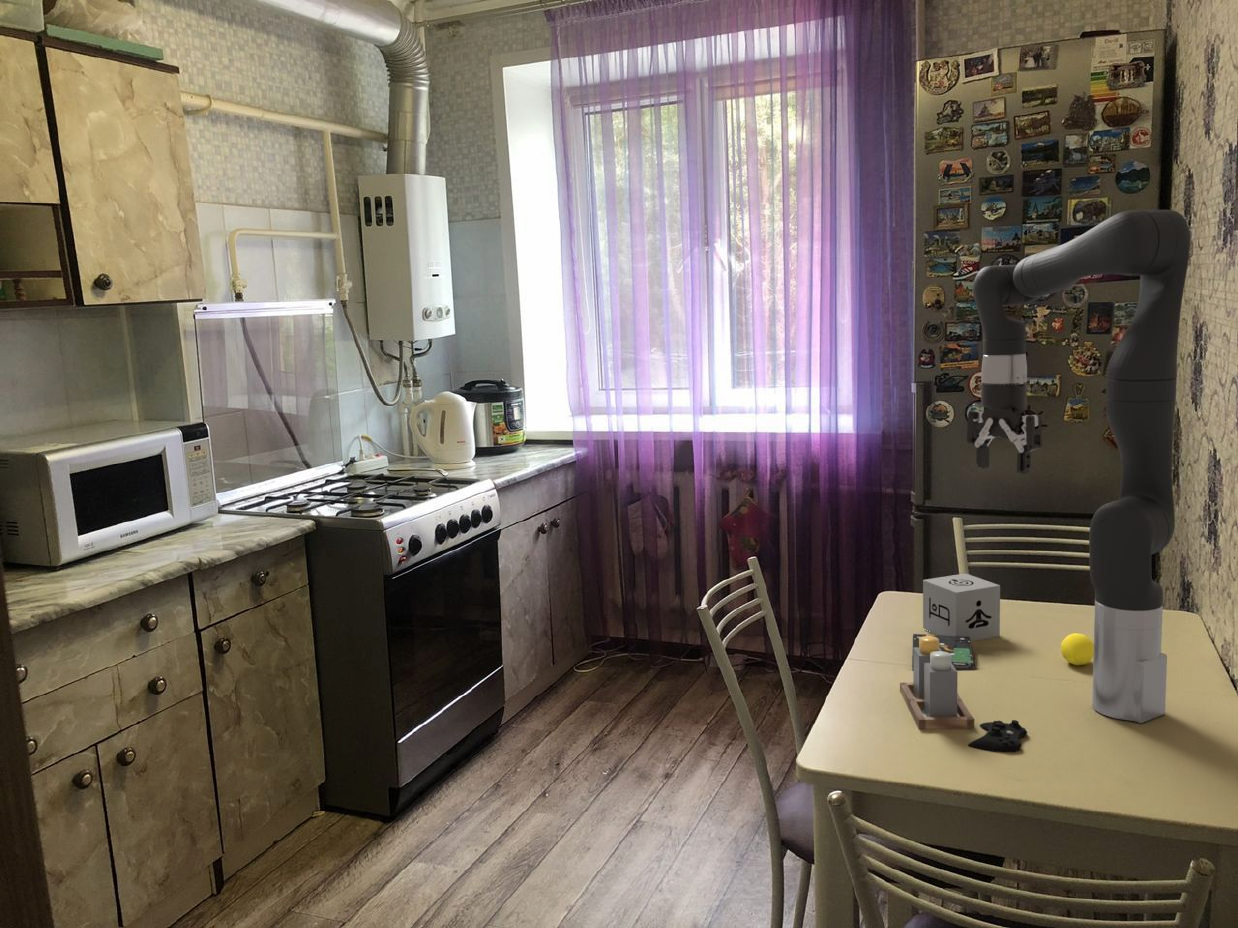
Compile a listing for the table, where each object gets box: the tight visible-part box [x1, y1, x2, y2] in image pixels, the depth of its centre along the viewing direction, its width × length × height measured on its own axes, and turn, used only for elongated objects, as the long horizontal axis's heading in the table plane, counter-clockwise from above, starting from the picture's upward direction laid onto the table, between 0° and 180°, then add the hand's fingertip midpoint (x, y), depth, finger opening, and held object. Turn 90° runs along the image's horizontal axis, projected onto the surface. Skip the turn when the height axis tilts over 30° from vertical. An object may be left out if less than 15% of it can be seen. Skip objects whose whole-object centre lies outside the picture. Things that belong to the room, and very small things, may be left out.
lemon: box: [1060, 632, 1094, 666], centre depth 177 cm, size 7×5×5 cm
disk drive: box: [911, 633, 975, 672], centre depth 182 cm, size 10×3×15 cm
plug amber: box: [912, 635, 942, 699], centre depth 160 cm, size 4×4×10 cm
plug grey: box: [924, 651, 958, 717], centre depth 153 cm, size 4×4×10 cm
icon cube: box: [922, 572, 1001, 642], centre depth 195 cm, size 10×10×10 cm
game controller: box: [967, 719, 1028, 753], centre depth 146 cm, size 10×5×7 cm
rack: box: [899, 682, 975, 730], centre depth 157 cm, size 8×15×3 cm, turn 175°
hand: (1002, 470), depth 181 cm, fingers open, 8 cm apart
